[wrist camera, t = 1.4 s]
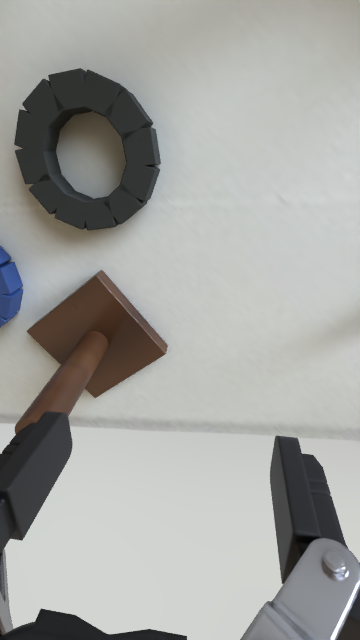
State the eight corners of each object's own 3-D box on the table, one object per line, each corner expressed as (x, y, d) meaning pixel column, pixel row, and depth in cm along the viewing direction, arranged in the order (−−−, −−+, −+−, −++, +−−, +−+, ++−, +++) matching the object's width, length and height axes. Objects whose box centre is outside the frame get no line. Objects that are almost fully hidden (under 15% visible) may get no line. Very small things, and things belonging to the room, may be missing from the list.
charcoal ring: (4, 144, 25) (-13, 143, 23) (95, 39, 21) (83, 29, 20) (93, 248, 27) (84, 254, 26) (186, 169, 24) (183, 170, 22)
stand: (34, 323, 31) (-69, 416, 20) (101, 269, 28) (24, 343, 17) (99, 389, 34) (40, 503, 23) (168, 345, 31) (138, 453, 20)
